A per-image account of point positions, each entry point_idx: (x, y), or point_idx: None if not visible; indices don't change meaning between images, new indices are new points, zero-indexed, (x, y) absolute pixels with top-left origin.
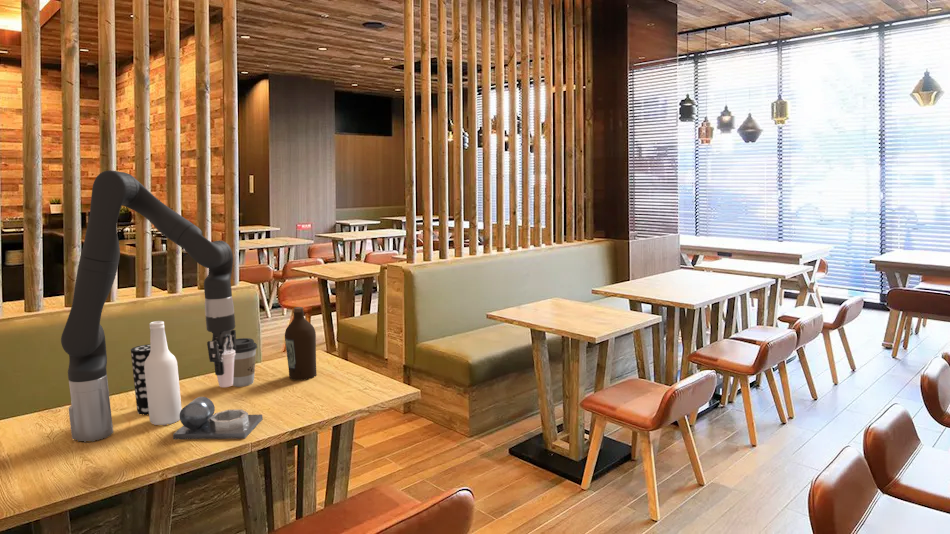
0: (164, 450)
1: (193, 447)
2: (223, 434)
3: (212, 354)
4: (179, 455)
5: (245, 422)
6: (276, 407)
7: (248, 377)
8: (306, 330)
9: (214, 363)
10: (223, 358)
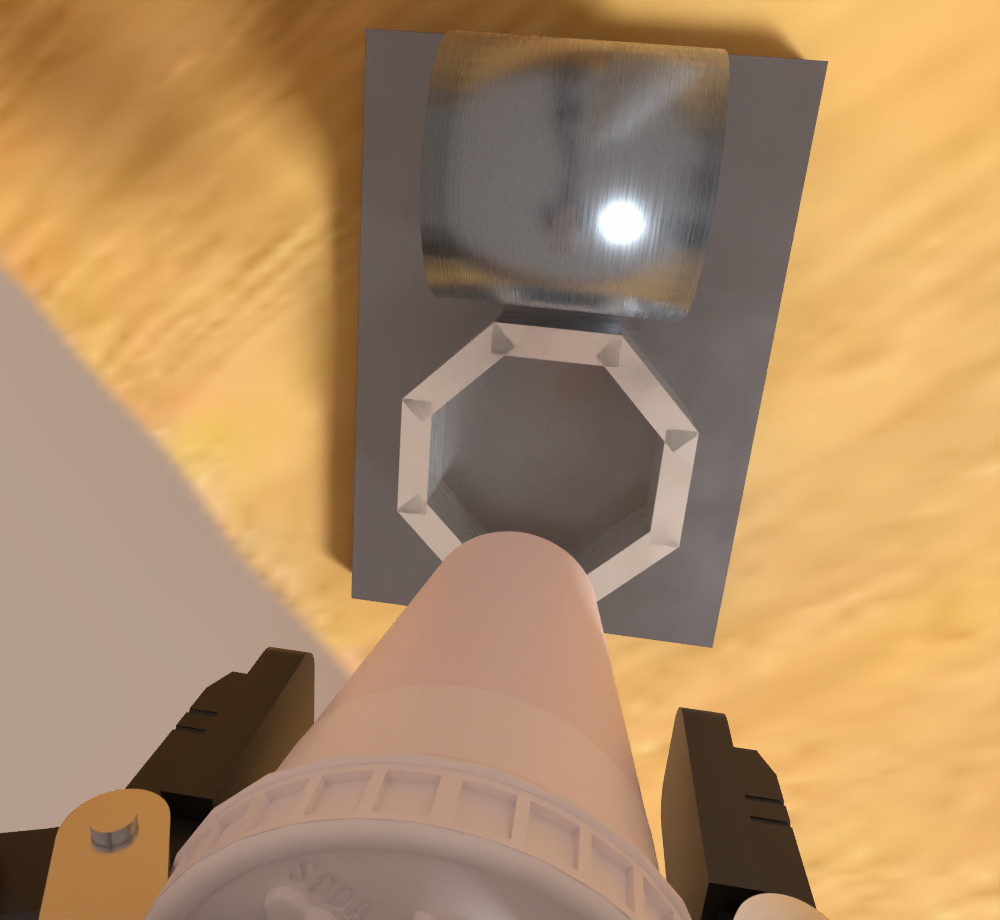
0: (173, 59)
1: (227, 273)
2: (355, 455)
3: (195, 868)
4: (97, 221)
5: None
6: (962, 680)
7: None
8: None
9: (176, 774)
10: None
